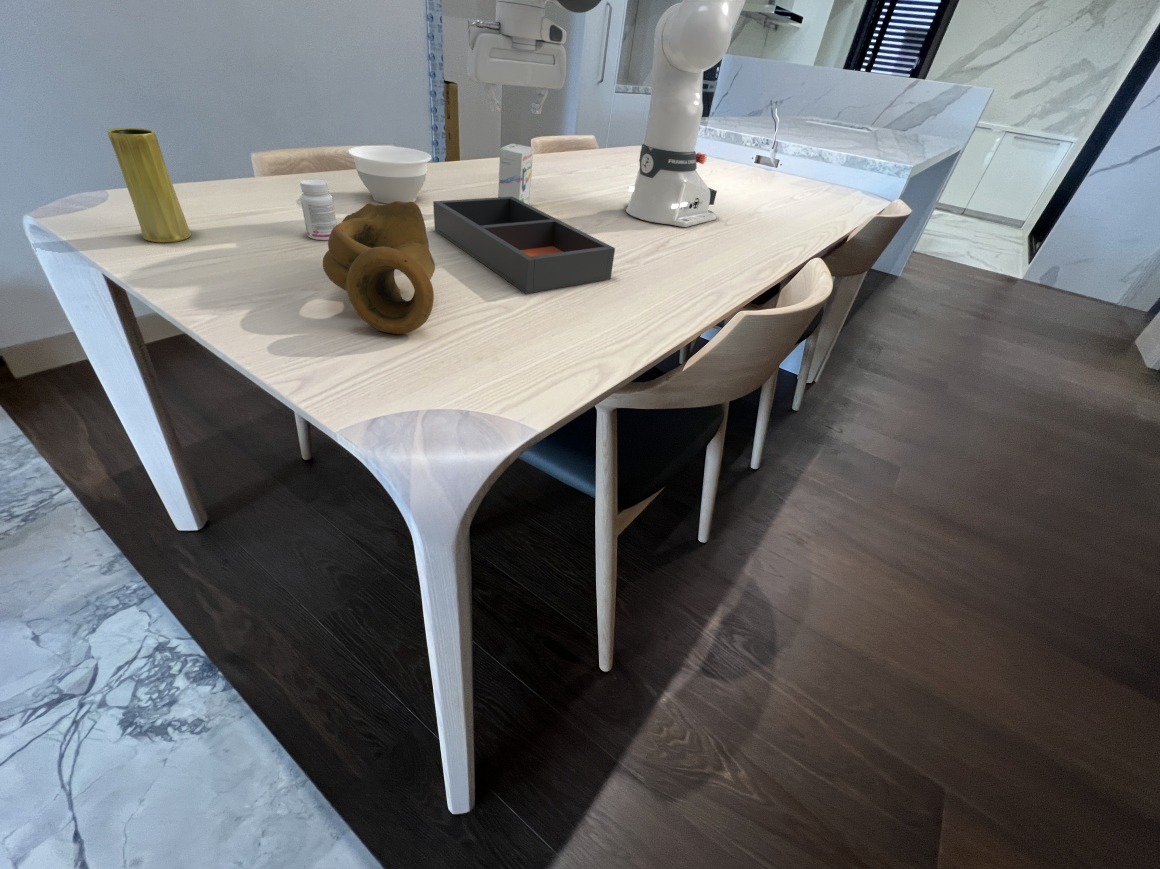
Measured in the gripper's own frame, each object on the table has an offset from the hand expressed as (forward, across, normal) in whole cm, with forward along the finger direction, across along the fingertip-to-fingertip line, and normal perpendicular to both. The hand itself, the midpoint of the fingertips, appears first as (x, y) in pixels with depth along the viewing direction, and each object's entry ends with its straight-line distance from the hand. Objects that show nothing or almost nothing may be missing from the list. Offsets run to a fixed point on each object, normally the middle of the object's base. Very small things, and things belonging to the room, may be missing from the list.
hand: (516, 112), depth 105 cm
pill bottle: (+18, -42, -8) cm, 46 cm away
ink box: (+18, 0, 0) cm, 18 cm away
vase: (+19, -63, -2) cm, 65 cm away
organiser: (+18, -15, -26) cm, 35 cm away
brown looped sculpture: (+18, -42, -35) cm, 57 cm away
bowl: (+18, -22, +12) cm, 31 cm away
